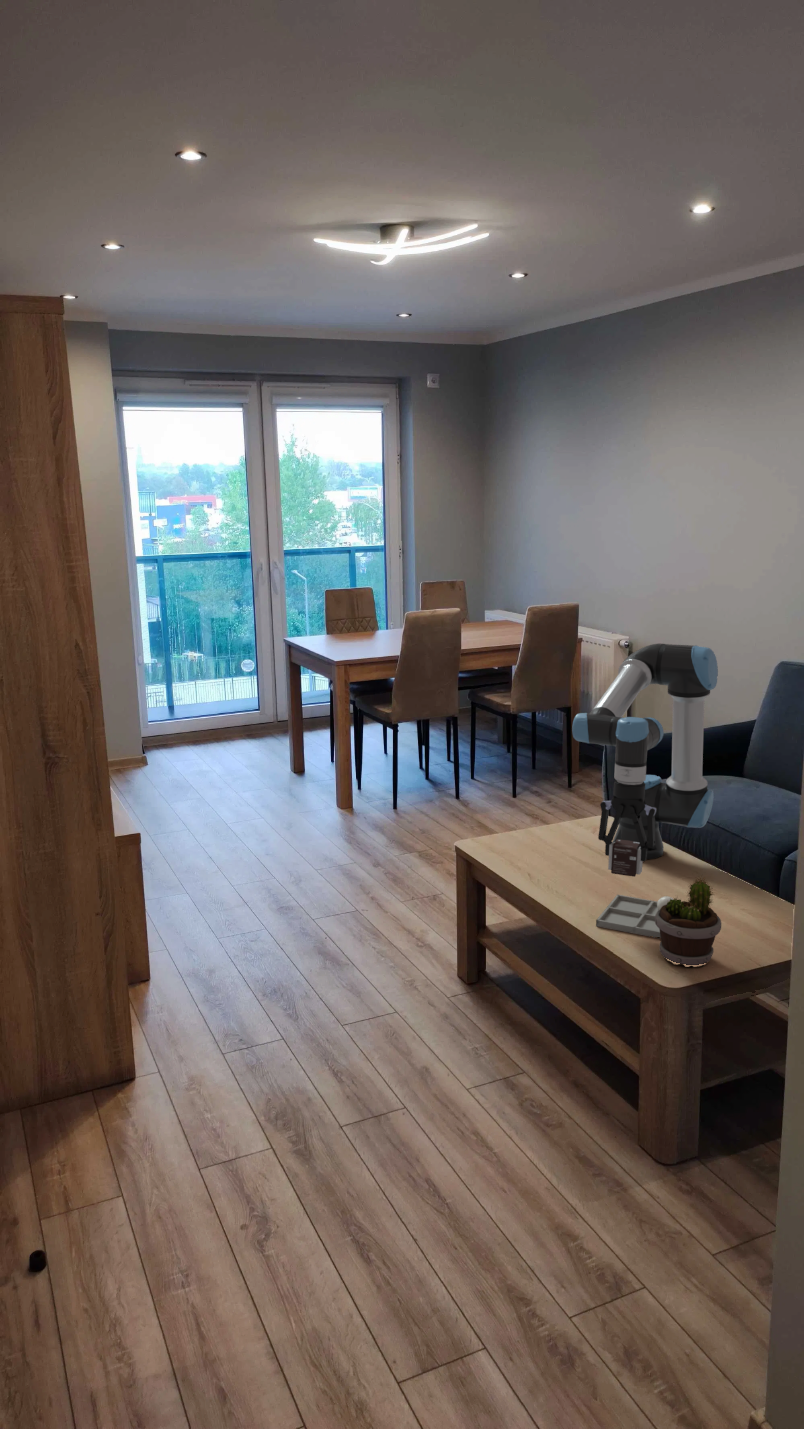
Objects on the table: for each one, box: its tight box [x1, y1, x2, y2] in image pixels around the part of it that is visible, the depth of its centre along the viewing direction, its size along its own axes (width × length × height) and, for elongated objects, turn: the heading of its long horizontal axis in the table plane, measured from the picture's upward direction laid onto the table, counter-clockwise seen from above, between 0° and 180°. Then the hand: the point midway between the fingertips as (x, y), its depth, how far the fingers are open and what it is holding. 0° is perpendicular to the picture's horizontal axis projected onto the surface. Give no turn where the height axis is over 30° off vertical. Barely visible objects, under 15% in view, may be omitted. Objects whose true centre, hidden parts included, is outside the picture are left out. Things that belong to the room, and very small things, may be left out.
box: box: [610, 839, 640, 878], centre depth 251 cm, size 6×6×7 cm
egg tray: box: [595, 893, 661, 939], centre depth 255 cm, size 19×19×2 cm
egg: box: [657, 895, 674, 911], centre depth 257 cm, size 5×5×5 cm
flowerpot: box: [655, 875, 722, 965], centre depth 231 cm, size 14×15×20 cm
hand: (625, 870), depth 251 cm, fingers closed on box, 6 cm apart
